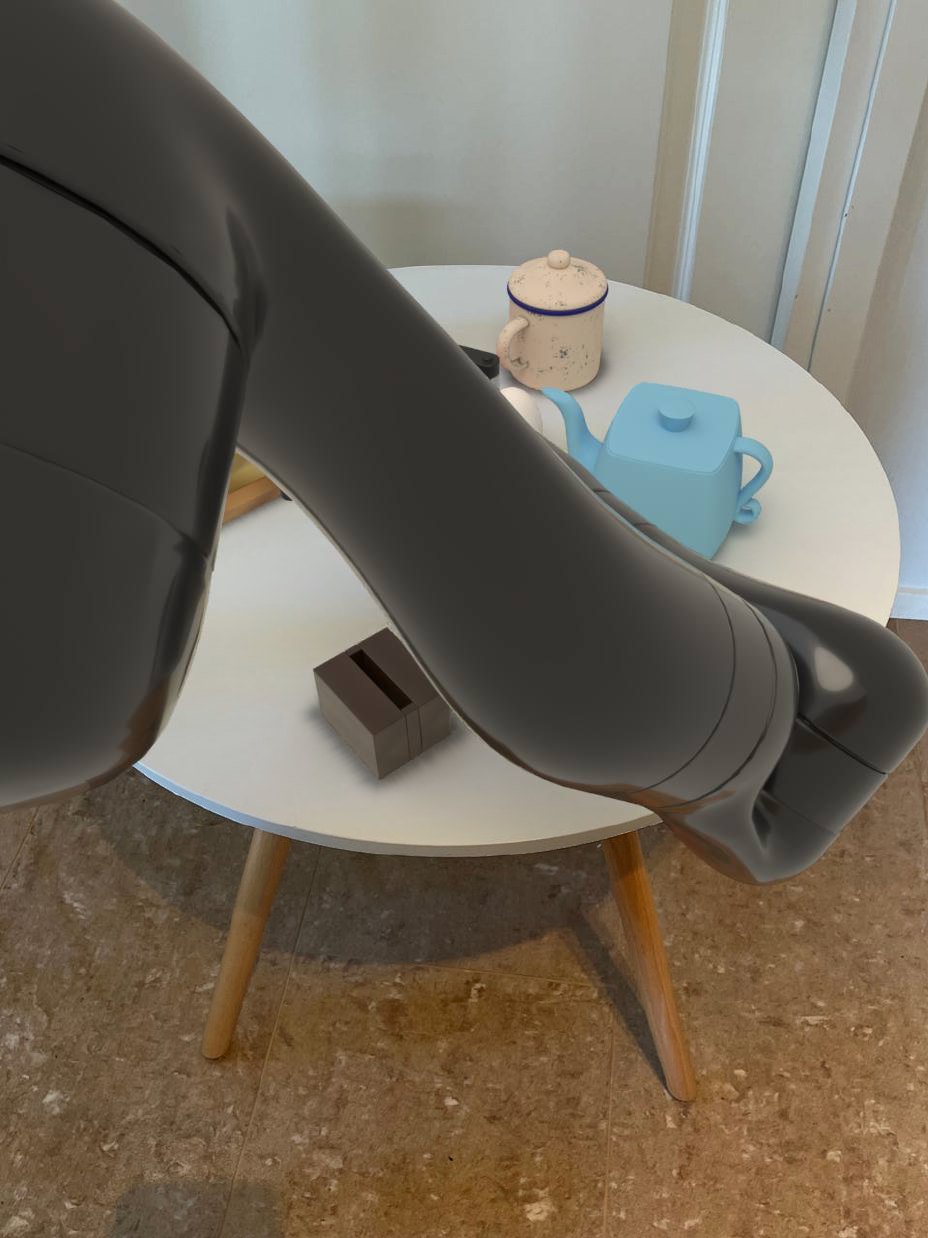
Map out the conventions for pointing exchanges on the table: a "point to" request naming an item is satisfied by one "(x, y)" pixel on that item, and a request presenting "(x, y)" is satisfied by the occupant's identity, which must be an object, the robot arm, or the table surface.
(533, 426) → the egg
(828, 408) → the table surface
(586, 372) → the teacup with lid
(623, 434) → the teapot
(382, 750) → the knife holder
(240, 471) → the butter
